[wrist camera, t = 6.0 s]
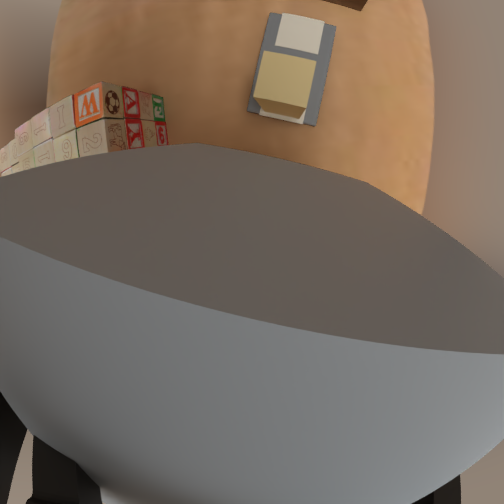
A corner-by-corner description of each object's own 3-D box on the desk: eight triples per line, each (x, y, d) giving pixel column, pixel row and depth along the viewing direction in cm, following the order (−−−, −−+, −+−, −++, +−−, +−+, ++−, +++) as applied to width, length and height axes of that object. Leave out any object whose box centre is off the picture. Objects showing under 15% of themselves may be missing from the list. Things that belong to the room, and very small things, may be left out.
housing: (197, 142, 13) (-67, 203, 2) (366, 182, 13) (573, 353, 1) (175, 345, 19) (102, 501, 7) (295, 374, 19) (286, 546, 7)
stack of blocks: (48, 180, 32) (-13, 202, 21) (43, 140, 30) (-20, 153, 18) (170, 147, 29) (107, 156, 18) (164, 95, 26) (100, 79, 15)
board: (271, 15, 21) (262, -38, 11) (334, 28, 21) (356, -19, 11) (248, 113, 26) (225, 99, 16) (314, 128, 26) (331, 121, 16)
